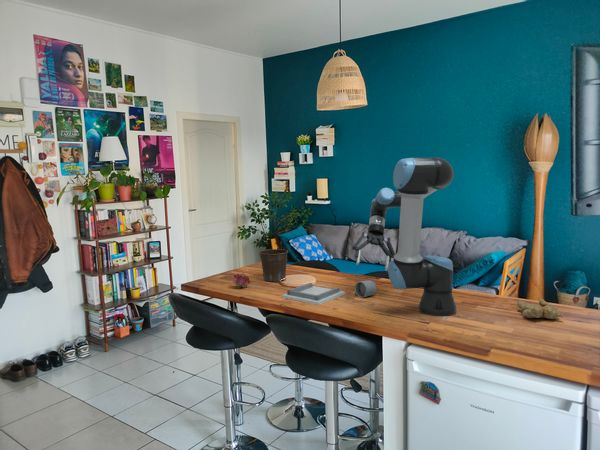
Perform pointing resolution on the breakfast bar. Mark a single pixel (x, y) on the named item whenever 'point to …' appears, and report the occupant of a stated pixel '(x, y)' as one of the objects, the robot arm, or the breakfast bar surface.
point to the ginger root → (539, 310)
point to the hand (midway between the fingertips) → (372, 266)
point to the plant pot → (274, 264)
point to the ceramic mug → (365, 288)
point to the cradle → (313, 294)
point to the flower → (241, 280)
